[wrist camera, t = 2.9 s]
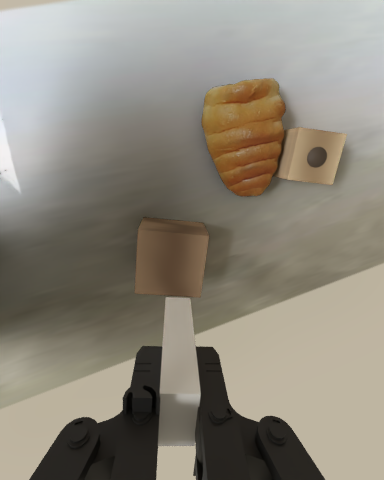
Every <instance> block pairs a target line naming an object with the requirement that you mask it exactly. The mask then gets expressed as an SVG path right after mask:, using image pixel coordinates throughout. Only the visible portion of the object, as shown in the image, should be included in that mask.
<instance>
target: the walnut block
mask: <svg viewBox="0 0 384 480" xmlns="http://www.w3.org/2000/svg"><path fill="white" fill-rule="evenodd" d="M208 241H209V234H208V232H207V230H206V228H205V225H204V223H201V222H190V221H179V220H168V219H158V218H147V217H143V219H142V221H141V223H140V226H139V228H138V235H137V255H136V275H135V294H151V295H168V296H184V297H201V290H202V283H203V276H204V269H205V262H206V255H207V248H208Z"/></svg>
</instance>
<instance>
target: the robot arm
mask: <svg viewBox="0 0 384 480" xmlns="http://www.w3.org/2000/svg"><path fill="white" fill-rule="evenodd" d="M195 443H196V458H195V466H194V474H193V475H194V476H196V480H325V479H324V477H323V476H322V474H321V473H320V471H319V469H318V468H317V467H316V465H315V463H314V462H313V460H312V459H311V457H310V456H309V454H308V453H307V451H306V450H305V448H304V447H303V445H302V444H301V442H300V441H299V439H298V437H297V436H296V434H295V433H294V431H293V430H292V428H291V427H290V426H289V425H288V424H287V423H286V422H285V421H283V420H282V419H280V418H278V417H275V416H266V417H264V418H262V419H261V420H260V422H256V421H253V420H250V419H247V418H245V417H242V416H241V415H239V414H238V413H237V412H236V411H235V410H234V409H233V408H232V407H231V405H230V403H229V400H228V396H227V391H226V387H225V382H224V377H223V373H222V368H221V365H220V359H219V355H218V353H217V352H216V350H215V349H214V348H213V347H196V345H195V336H194V327H193V318H192V309H191V299H190V298H175V297H166V299H165V315H164V331H163V347H158V346H142V347H141V349H140V350H139V351H138V353H137V355H136V360H135V366H134V372H133V376H132V382H131V387H130V388H129V389H128V390H127V391H126V392H125V395H124V397H123V410H122V412H121V413H120V414H118V415H117V416H115V417H114V418H111V419H109V420H106V421H103V422H100V423H97V422H96V421H95V420H94V419H92V418H89V417H82V418H78V419H75V420H73V421H72V422H70V423H69V424H67V425H66V426H65V427H64V429H63V430H62V431H61V432H60V434H59V435H58V437H57V438H56V440H55V441H54V443H53V444H52V446H51V447H50V449H49V450H48V452H47V454H46V455H45V456H44V458H43V460H42V461H41V463H40V464H39V466H38V467H37V469H36V470H35V472H34V473H33V475H32V476H31V478H30V479H29V480H156V470H157V451H158V446H194V445H195Z"/></svg>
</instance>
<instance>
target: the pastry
mask: <svg viewBox="0 0 384 480" xmlns="http://www.w3.org/2000/svg"><path fill="white" fill-rule="evenodd" d="M285 110H286V109H285V103H284V102H283V100H282V99H281V97H280V94H279V85H278V83H277V81H275V80H274V79H272V78H269V79H254V80H244V81H241V82H238V83H236V84H228V85H226V86H225V85H222V86H216V87H213V88H212V89H210V90H209V91H208V92H207V94H206V96H205V101H204V110H203V115H202V127H203V130H204V133H205V138H206V141H207V147H208V151H209V153H210V155H211V157H212V159H213V162H214V163H215V166H216V168H217V171H218V173H219V175H220V177H221V179H222V181H223V183H224V184H225V185H226V187H227V188H228V189H229V190H231V191H232V192H233V193H235V194H236V195H238V196H257V195H261V194H262V193H263V192H264V190H265V189H266V188H267V187H268V186H269V184H270V182H271V178H272V176H273V173H274V172H275V171H276V169H277V167H278V165H277V160H278V157H279V155H280V153H281V149H282V148H281V142H282V140H283V138H284V129H283V125H282V120H281V118H282V116H283V115H284V113H285Z"/></svg>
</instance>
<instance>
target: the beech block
mask: <svg viewBox="0 0 384 480" xmlns="http://www.w3.org/2000/svg"><path fill="white" fill-rule="evenodd" d="M346 136H347V134H342V133H335V132H328V131H322V130H315V129H308V128H301V127H299V128H293V129H288V130H284V138H283V140H282V142H281V148H282V149H281V153H280V155H279V157H278V160H277V165H278V167H277V169H276V171H275V172H274V173H273V176H275V177H279V178H283V179H287V180H295V181H303V182H312V183H320V184H328V185H333V181H334V178H335V174H336V171H337V167H338V164H339V160H340V157H341V153H342V150H343V146H344V143H345V139H346Z"/></svg>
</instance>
